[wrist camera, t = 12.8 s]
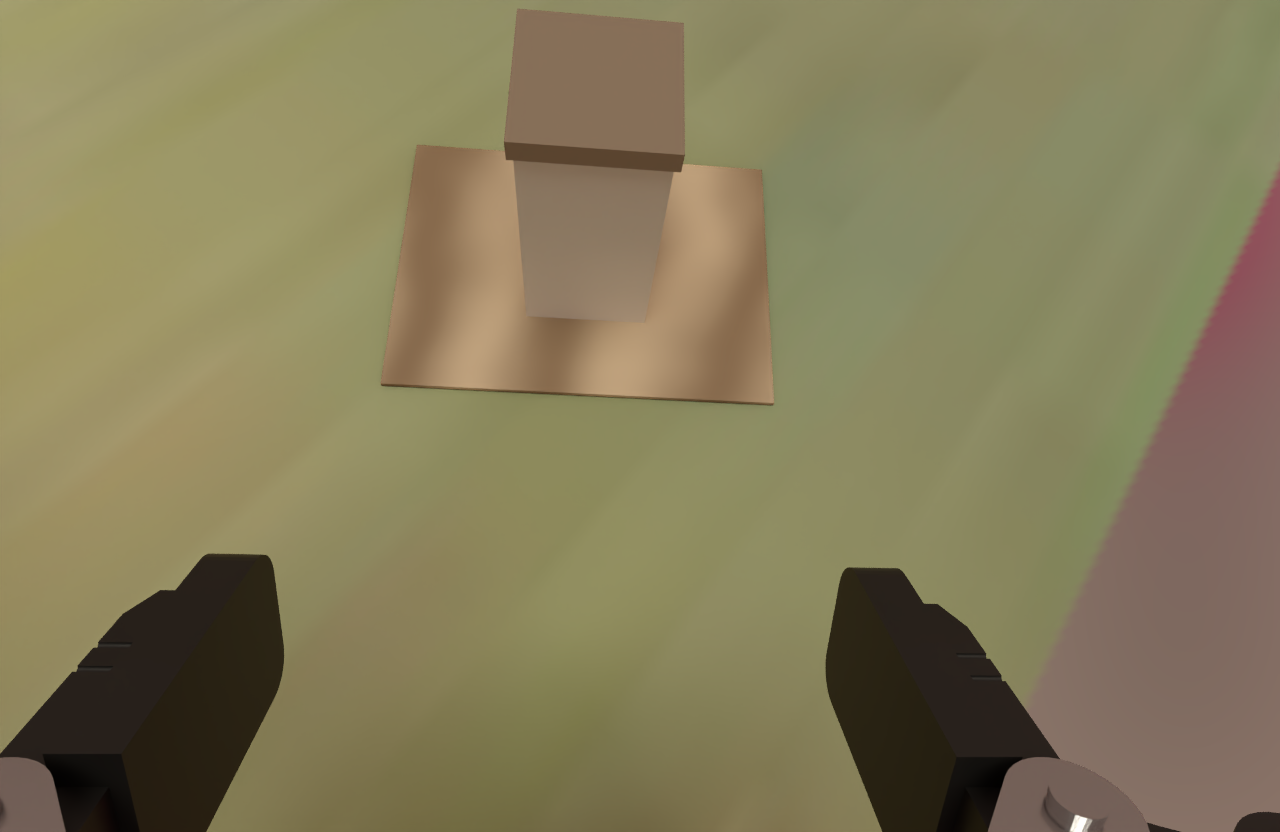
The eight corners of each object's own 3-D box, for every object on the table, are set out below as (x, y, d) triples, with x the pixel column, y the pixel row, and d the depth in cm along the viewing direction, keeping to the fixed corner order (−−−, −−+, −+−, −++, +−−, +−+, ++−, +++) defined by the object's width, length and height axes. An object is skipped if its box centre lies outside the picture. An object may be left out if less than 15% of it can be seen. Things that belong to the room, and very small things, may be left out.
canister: (521, 320, 34) (504, 141, 24) (529, 213, 36) (517, 8, 26) (648, 327, 34) (684, 154, 24) (650, 221, 36) (683, 22, 26)
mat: (381, 385, 32) (380, 383, 32) (417, 147, 37) (417, 144, 37) (772, 405, 33) (774, 403, 33) (760, 172, 38) (761, 169, 38)
